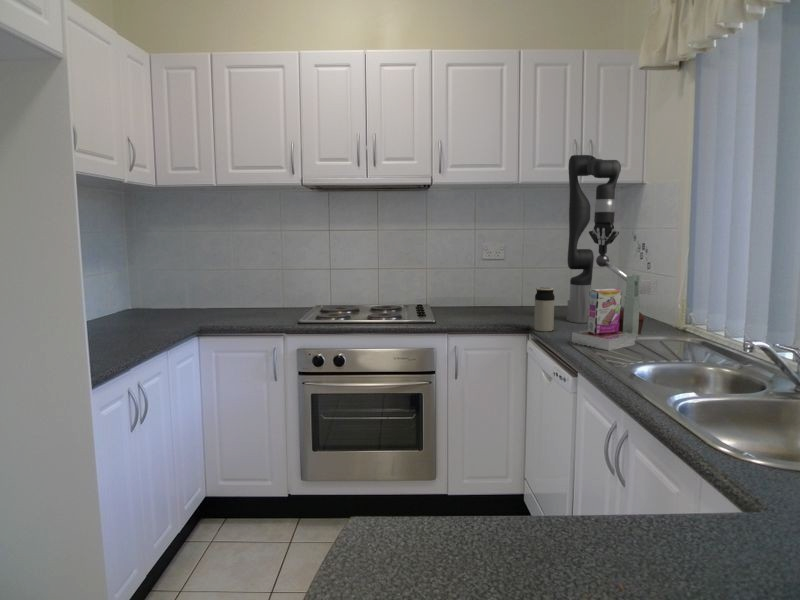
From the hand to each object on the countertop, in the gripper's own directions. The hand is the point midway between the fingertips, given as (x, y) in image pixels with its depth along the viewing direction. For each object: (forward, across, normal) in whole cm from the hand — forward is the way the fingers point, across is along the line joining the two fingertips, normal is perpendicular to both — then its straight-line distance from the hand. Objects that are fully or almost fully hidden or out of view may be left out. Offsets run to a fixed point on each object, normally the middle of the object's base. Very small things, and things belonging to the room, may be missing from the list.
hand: (602, 254), depth 225 cm
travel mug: (+33, -18, -13) cm, 39 cm away
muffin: (+33, +7, +10) cm, 35 cm away
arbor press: (+32, +13, -11) cm, 37 cm away
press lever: (+14, +10, 0) cm, 17 cm away
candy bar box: (+28, +13, -16) cm, 35 cm away
